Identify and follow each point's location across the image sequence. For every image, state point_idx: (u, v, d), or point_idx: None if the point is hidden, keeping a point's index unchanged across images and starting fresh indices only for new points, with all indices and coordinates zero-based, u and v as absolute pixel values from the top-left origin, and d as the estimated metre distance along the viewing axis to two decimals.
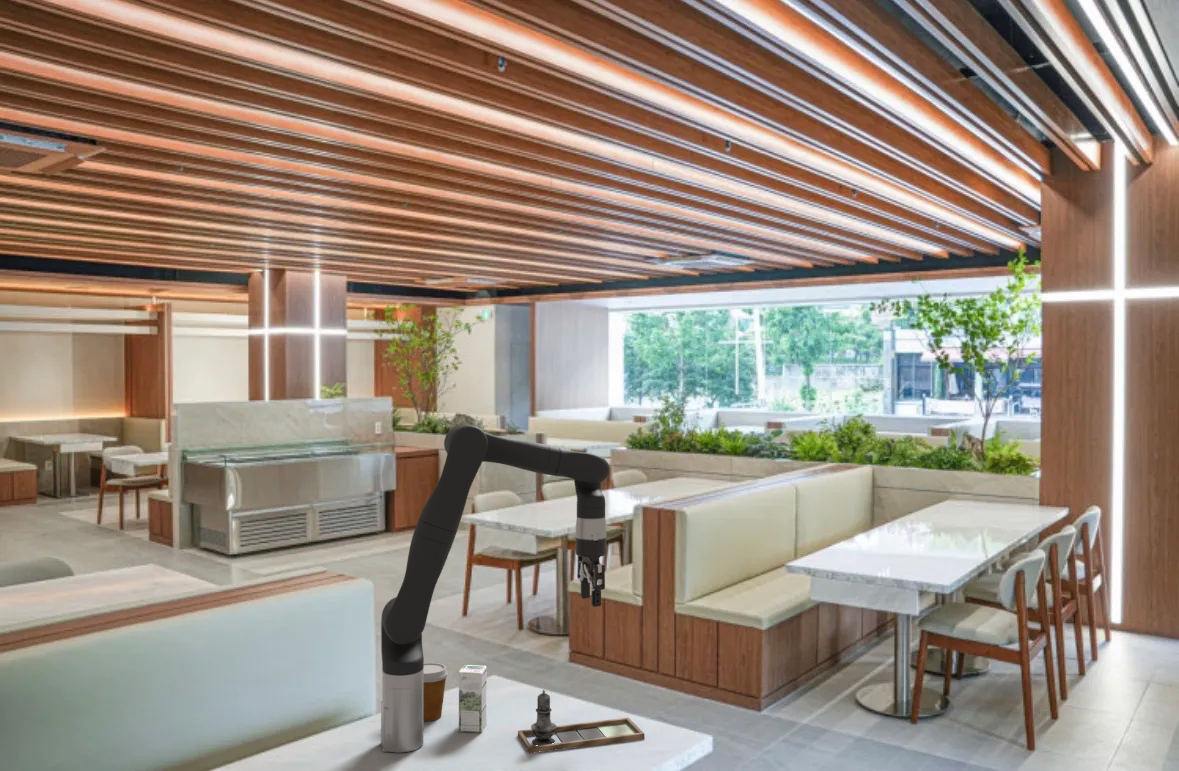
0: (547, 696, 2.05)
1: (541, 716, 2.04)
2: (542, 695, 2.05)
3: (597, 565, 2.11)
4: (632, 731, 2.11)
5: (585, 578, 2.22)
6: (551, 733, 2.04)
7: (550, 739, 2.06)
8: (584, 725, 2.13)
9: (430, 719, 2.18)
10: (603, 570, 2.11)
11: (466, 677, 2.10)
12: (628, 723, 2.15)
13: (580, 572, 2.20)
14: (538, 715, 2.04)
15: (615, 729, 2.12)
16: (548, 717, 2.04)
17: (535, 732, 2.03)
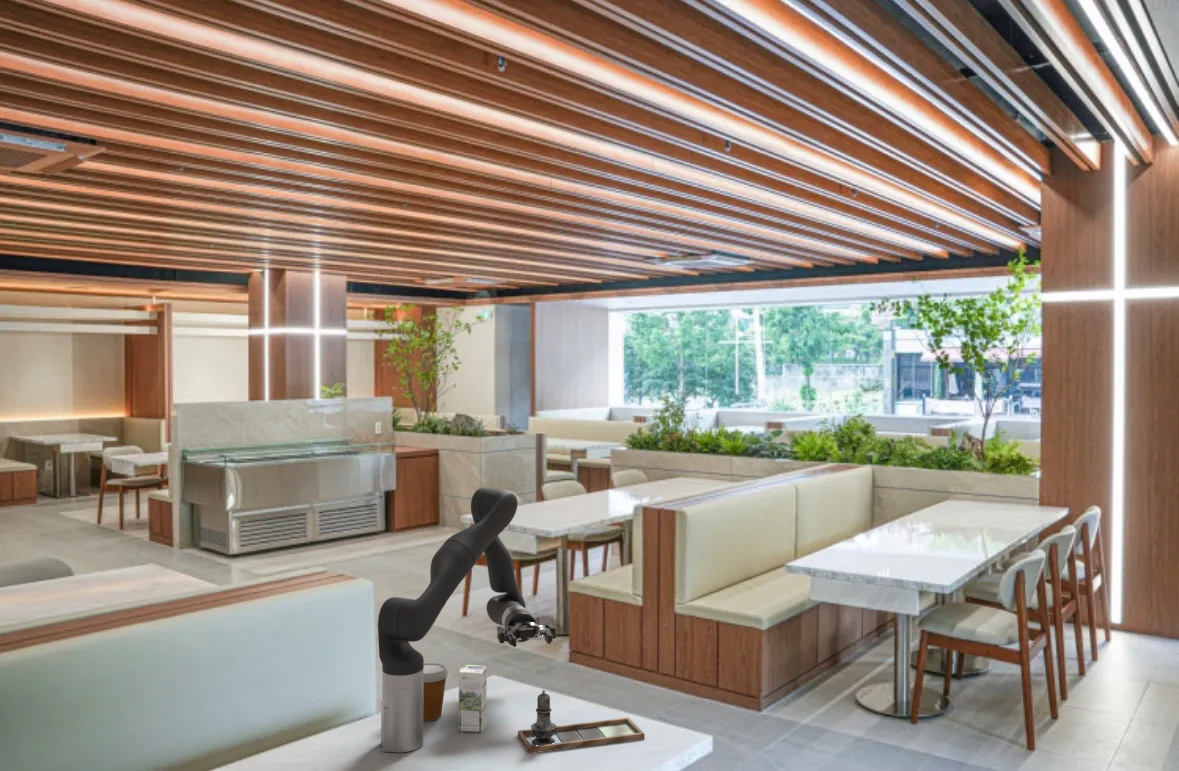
0: (547, 696, 2.05)
1: (541, 716, 2.04)
2: (542, 695, 2.05)
3: None
4: (632, 731, 2.11)
5: None
6: (551, 733, 2.04)
7: (550, 739, 2.06)
8: (584, 725, 2.13)
9: (430, 719, 2.18)
10: None
11: (466, 677, 2.10)
12: (628, 723, 2.15)
13: (514, 627, 2.21)
14: (538, 715, 2.04)
15: (615, 729, 2.12)
16: (548, 717, 2.04)
17: (535, 732, 2.03)
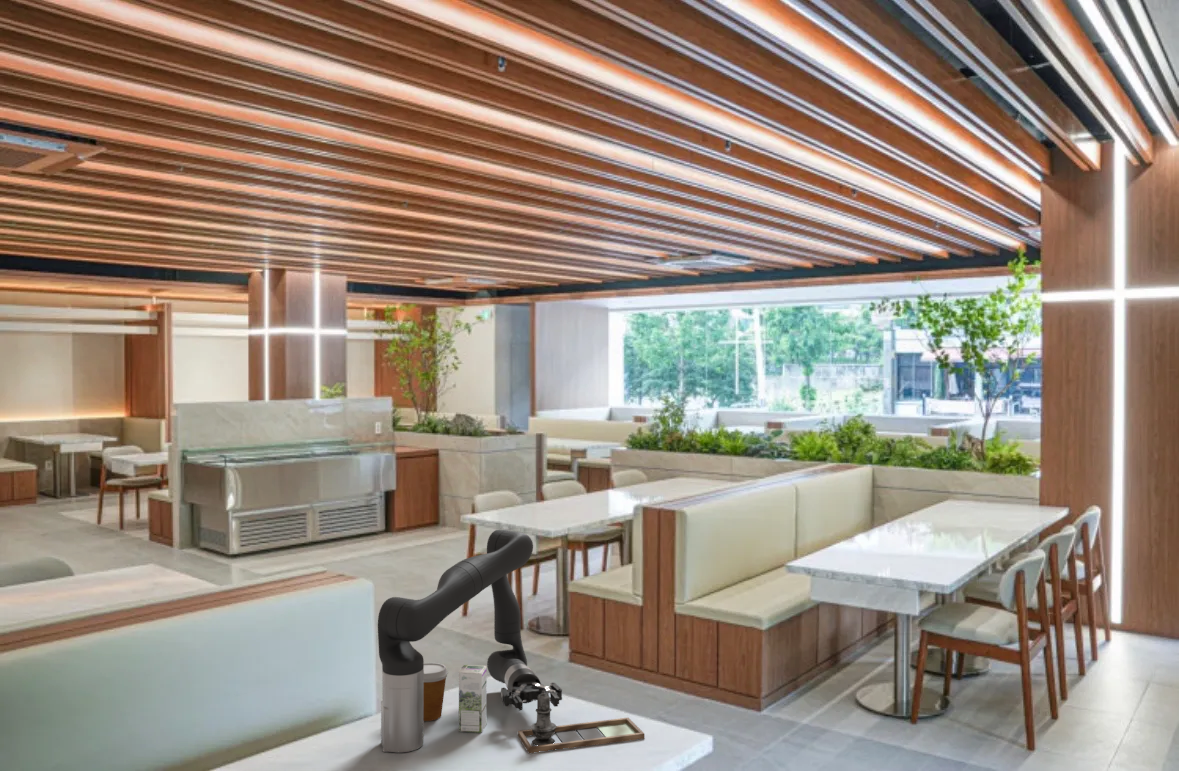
0: (547, 696, 2.05)
1: (541, 716, 2.04)
2: (542, 695, 2.05)
3: None
4: (632, 731, 2.11)
5: None
6: (551, 733, 2.04)
7: (550, 739, 2.05)
8: (584, 725, 2.13)
9: (430, 719, 2.18)
10: None
11: (466, 677, 2.10)
12: (628, 723, 2.15)
13: (519, 689, 2.15)
14: (538, 715, 2.04)
15: (615, 729, 2.12)
16: (548, 717, 2.04)
17: (535, 732, 2.03)
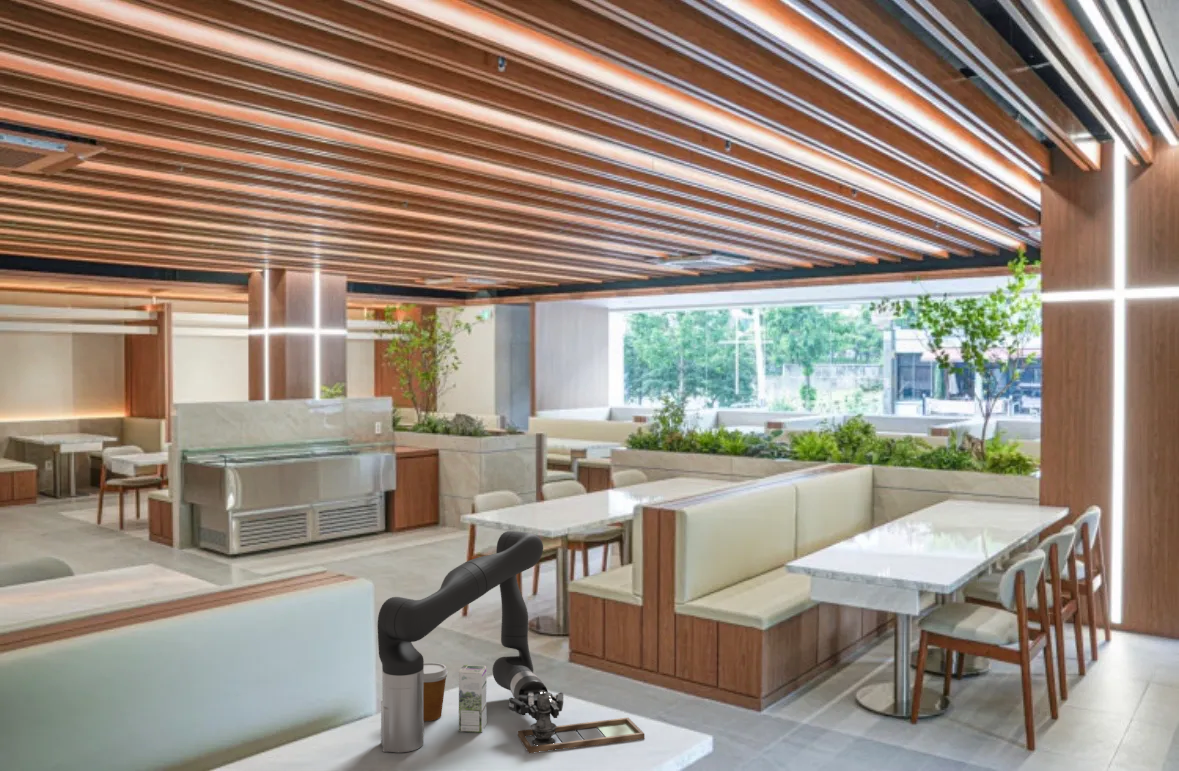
0: (547, 696, 2.05)
1: (541, 716, 2.04)
2: (542, 695, 2.05)
3: None
4: (632, 731, 2.11)
5: None
6: (551, 733, 2.04)
7: (550, 739, 2.05)
8: (584, 725, 2.13)
9: (430, 719, 2.18)
10: None
11: (466, 677, 2.10)
12: (628, 723, 2.15)
13: (530, 697, 2.09)
14: None
15: (615, 729, 2.12)
16: (548, 717, 2.04)
17: (535, 732, 2.03)
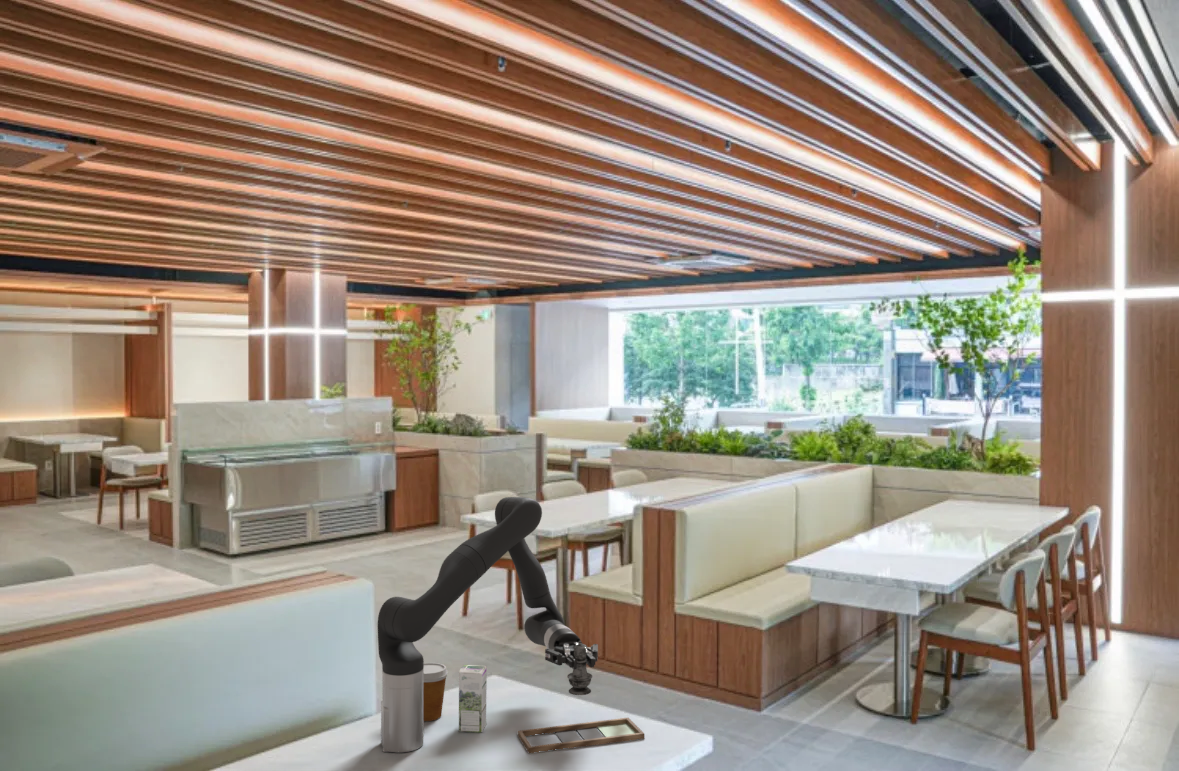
0: (583, 646, 2.08)
1: (578, 666, 2.07)
2: (578, 645, 2.08)
3: None
4: (632, 731, 2.11)
5: None
6: (587, 682, 2.07)
7: (586, 688, 2.09)
8: (584, 725, 2.13)
9: (430, 719, 2.18)
10: None
11: (466, 677, 2.10)
12: (628, 723, 2.15)
13: (566, 648, 2.12)
14: None
15: (615, 729, 2.12)
16: (584, 667, 2.08)
17: (572, 681, 2.07)
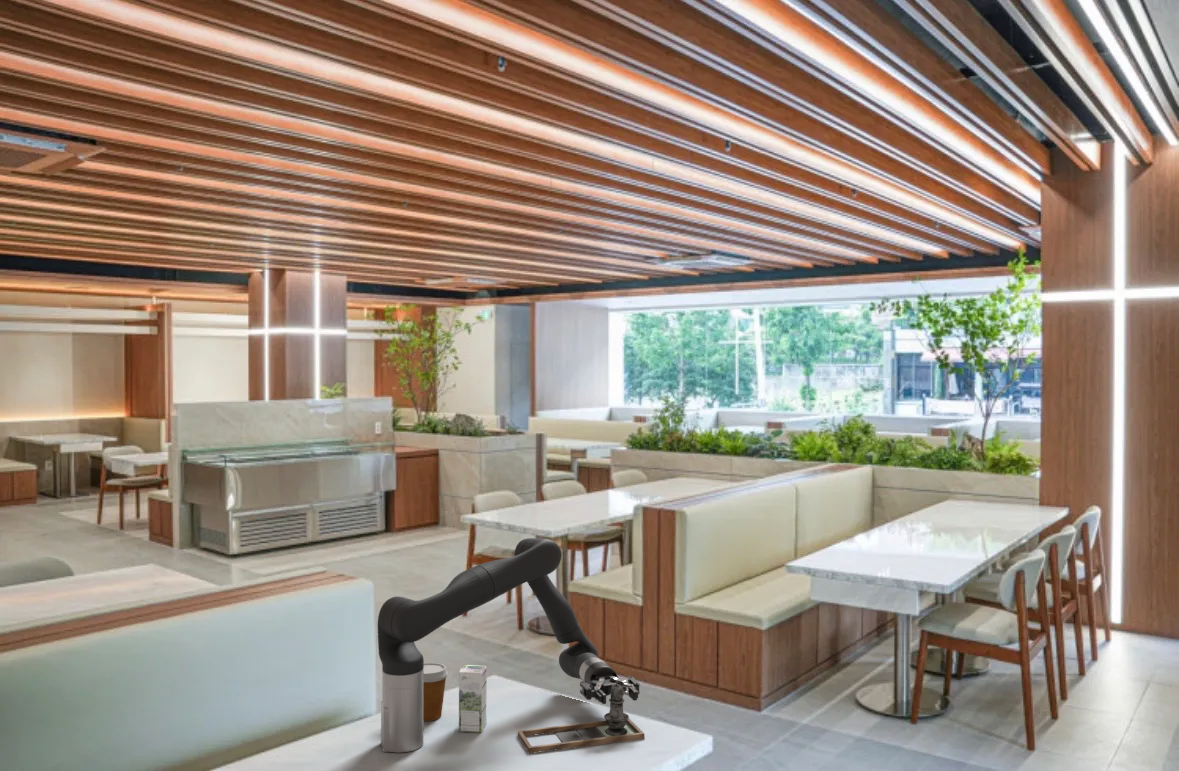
0: (620, 687, 2.10)
1: (615, 707, 2.10)
2: (615, 686, 2.10)
3: None
4: (632, 731, 2.11)
5: None
6: (624, 723, 2.09)
7: (622, 729, 2.11)
8: (584, 725, 2.13)
9: (430, 719, 2.18)
10: None
11: (466, 677, 2.10)
12: (628, 723, 2.15)
13: (599, 682, 2.14)
14: (611, 705, 2.10)
15: None
16: (621, 707, 2.10)
17: (609, 722, 2.09)
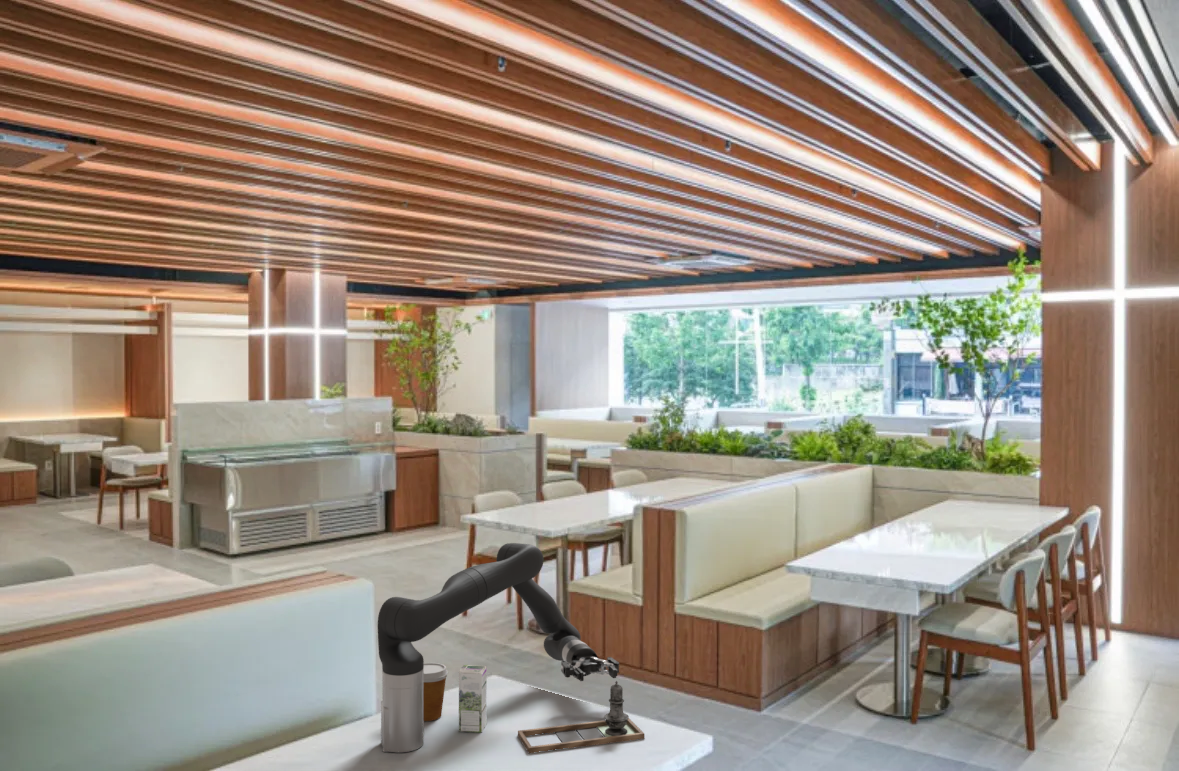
0: (620, 687, 2.10)
1: (615, 707, 2.10)
2: (615, 686, 2.10)
3: None
4: (632, 731, 2.11)
5: None
6: (624, 723, 2.09)
7: (622, 729, 2.11)
8: (584, 725, 2.13)
9: (430, 719, 2.18)
10: None
11: (466, 677, 2.10)
12: (628, 723, 2.15)
13: (579, 662, 2.27)
14: (611, 705, 2.10)
15: None
16: (621, 707, 2.10)
17: (609, 722, 2.09)
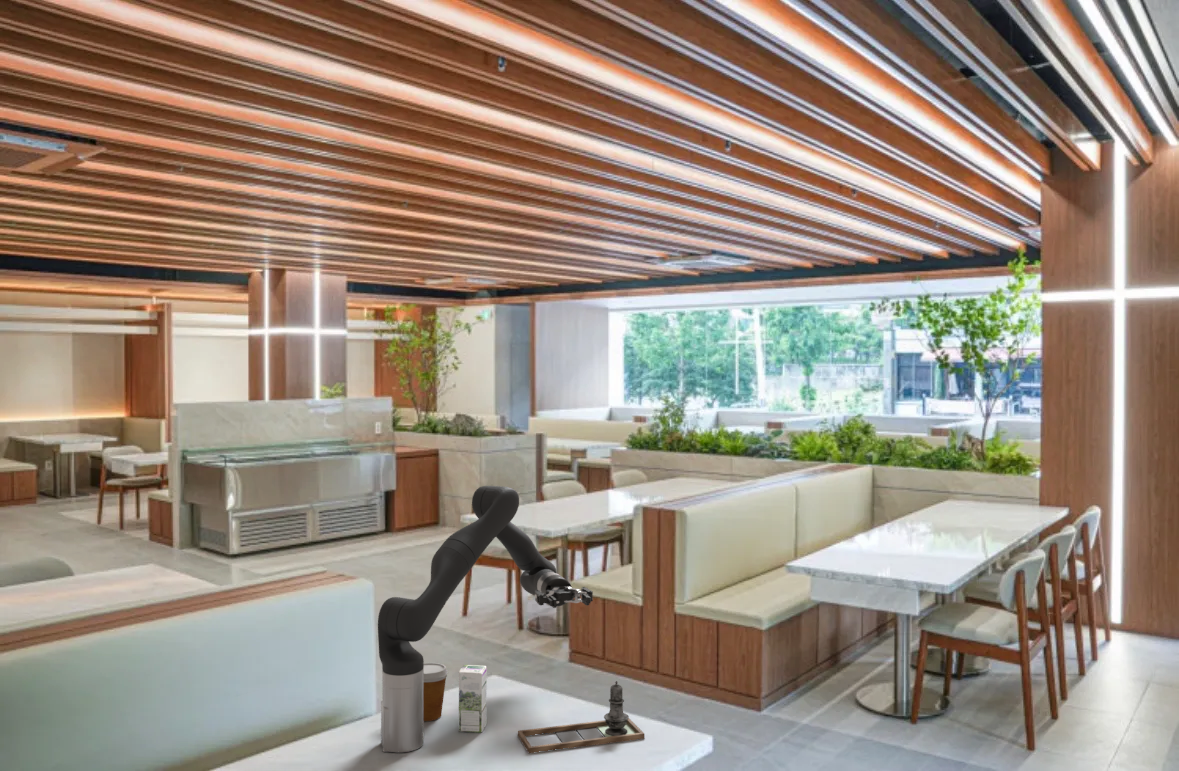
0: (620, 687, 2.10)
1: (615, 707, 2.10)
2: (615, 686, 2.10)
3: None
4: (632, 731, 2.11)
5: None
6: (624, 723, 2.09)
7: (622, 729, 2.11)
8: (584, 725, 2.13)
9: (430, 719, 2.18)
10: None
11: (466, 677, 2.10)
12: (628, 723, 2.15)
13: (552, 590, 2.28)
14: (611, 705, 2.10)
15: None
16: (621, 707, 2.10)
17: (609, 722, 2.09)
